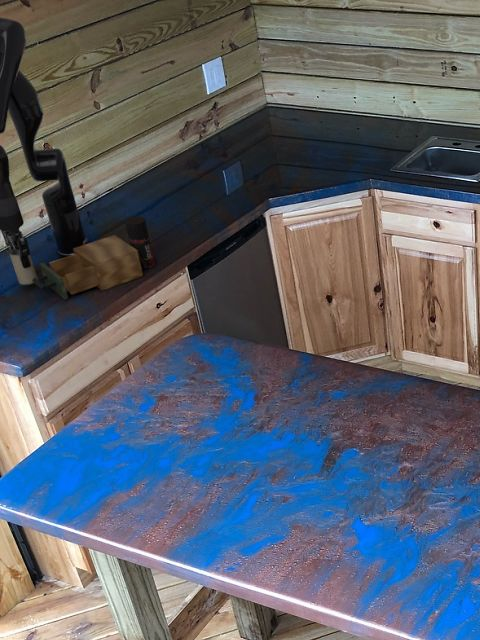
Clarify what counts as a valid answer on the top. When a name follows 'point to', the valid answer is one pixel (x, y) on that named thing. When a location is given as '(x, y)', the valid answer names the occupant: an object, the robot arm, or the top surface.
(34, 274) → the tin can
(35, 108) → the robot arm
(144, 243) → the deodorant
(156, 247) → the top surface
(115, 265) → the cabinet
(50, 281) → the drawer
